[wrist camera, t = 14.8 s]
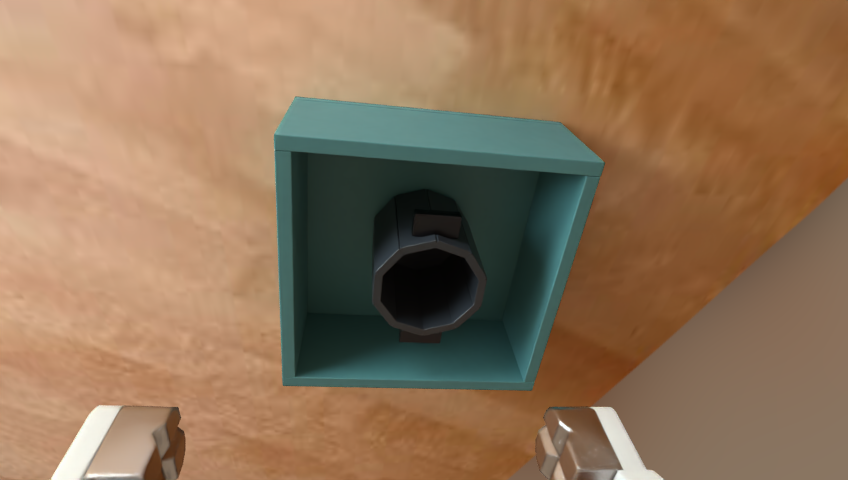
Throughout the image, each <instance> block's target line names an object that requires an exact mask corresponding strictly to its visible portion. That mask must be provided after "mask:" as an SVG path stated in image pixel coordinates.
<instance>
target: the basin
mask: <svg viewBox="0 0 848 480" xmlns="http://www.w3.org/2000/svg"><path fill="white" fill-rule="evenodd" d="M274 149H275V151H274V152H275V181H276V210H277V238H278V267H279V296H280V325H281V353H282V381H283V386H317V387H370V388H422V389H475V390H527V391H531V390H532V389H533V385H534V382H535V379H536V376H537V373H538V370H539V366H540V363H541V360H542V357H543V354H544V351H545V348H546V345H547V342H548V338H549V335H550V332H551V329H552V326H553V323H554V320H555V317H556V314H557V310H558V307H559V304H560V301H561V298H562V295H563V292H564V289H565V286H566V282H567V279H568V276H569V273H570V270H571V267H572V264H573V261H574V257H575V254H576V251H577V248H578V245H579V242H580V239H581V236H582V233H583V229H584V226H585V223H586V220H587V217H588V214H589V211H590V208H591V205H592V201H593V198H594V195H595V192H596V189H597V186H598V183H599V180H600V176H601V174H602V171H603V168H604V165H605V162H604V161H603V160H601V159H600V158H599V157H598V156H597V155H596V154H595V153H594V152H593V151H591V150H590V149H589V148H588V147H587V146H586V145H585V144H584V143H583V142H582V141H580V140H579V139H578V138H577V137H576V136H575V135H574V134H573V133H572V132H570V131H569V130H568V129H567V128H566V127H565V126H564V125H563V124H562V123H561V122H553V121H542V120H532V119H522V118H511V117H501V116H491V115H480V114H470V113H460V112H449V111H439V110H428V109H418V108H408V107H397V106H387V105H377V104H366V103H356V102H346V101H335V100H325V99H315V98H304V97H295V98H294V100H293V102H292V104H291V105H290V107H289V109H288V111H287V112H286V114H285V116H284V118H283V120H282V121H281V123H280V125H279V127H278V128H277V130H276V132H275V134H274ZM422 189H428V190H431V191H433V192H436V193H439V194H441V195H444V196H446V197H449V198H451V199H453V200H455V201H456V203H457V205H458V206H459V208H460V210H461V212H462V213H463V215H464V217H465V218H466V220H467V222H468V224H469V227H470V230H471V233H472V236H473V239H474V242H475V244H476V247H477V250H478V253H479V256H480V259H481V262H482V265H483V268H484V271H485V273H486V276H487V282H486V287H485V292H484V296H483V301H482V305H481V307H480V309H479V310H478V311H476V312H475V313H474V314H473V315H472V316H471V317H470V318H468V319H467V320H466V321H465V322H464V323H463V324H461V325H460V326H459V327H458V328H456V327H455V329H453V330H449V331H444V332H442V335H441V341H440V343H407V342H399V329H397V328H394V327H392V326H390V325H389V324H388V322H387V321H386V320H385V319H384V317H383V316H382V315H381V314H380V312H379V311H378V310H377V309H376V307H375V306H374V305H373V302H372V244H373V230H374V218H375V216H376V215H377V214H378V213H379V212H380V211H381V210H382V209H383V208H384V206H385V205H386V204H387V203H388V202H389V201H390V200H391V199H392V198H393V197H394V196H395V197H396V195H399V194H404V193H408V192H413V191H418V190H422Z"/></svg>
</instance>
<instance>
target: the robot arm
mask: <svg viewBox="0 0 848 480" xmlns="http://www.w3.org/2000/svg"><path fill="white" fill-rule="evenodd" d="M543 418H544V421H545V424H546V425H545V426H543V427H542V428H541V429H539V431H538V434H537V437H536V446H535V452H536V458H537V462H538V466H539V469H540V472H541V473H542V474H543V475H544V476H545V477H546V478H547V479H548V480H664V479H663V478H662V477H661V476H660V475H658V474H657V473H656V472H655V471H653V470H647V469H646V468H645V466H644V464H643V462H642V460H641V458H640V456H639V454H638V452H637V451H636V449H635V447H634V445H633V443H632V441H631V439H630V437H629V436H628V434H627V432H626V430H625V428H624V426H623V424H622V422H621V421H620V419H619V417H618V415H617V413H616V411H615V410H613V408H612V407H549V408H548V409H547V410H546V412H545V414H544V417H543ZM180 419H181V416H180V412H179V408H178V407H156V406H110V405H98V406H97V407H96V408H95V409H94V410H93V411H92V412H91V413H90V414H89V416H88V417H87V419H86V421H85V422H84V424H83V426H82V428H81V429H80V431H79V433H78V434H77V436H76V438H75V439H74V441H73V443H72V444H71V446H70V448H69V449H68V451H67V453H66V454H65V456H64V458H63V460H62V461H61V463H60V465H59V466H58V468H57V470H56V471H55V473H54V475H53V476H52V478H51V480H176V479H178V477H179V474H180V471H181V468H182V465H183V460H184V455H185V434H184V431H183V430H181V429H180V428H179V427H178V424H179V422H180Z"/></svg>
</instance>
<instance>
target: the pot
mask: <svg viewBox="0 0 848 480" xmlns="http://www.w3.org/2000/svg"><path fill="white" fill-rule="evenodd" d="M486 282H487V276H486V273H485V271H484V268H483V265H482V262H481V259H480V256H479V253H478V250H477V247H476V244H475V242H474V239H473V236H472V233H471V230H470V227H469V224H468V222H467V220H466V218H465V217H464V215H463V213H462V212H461V210H460V208H459V206H458V205H457V203H456V201H455V200H453V199H451V198H449V197H446V196H444V195H441V194H439V193H436V192H433V191H431V190H428V189H422V190H418V191H413V192H408V193H404V194H399V195H396V197H395V196H394V197H393V198H392V199H391V200H390V201H389V202H388V203H387V204H386V205H385V206H384V208H383V209H382V210H381V211H380V212H379V213H378V214H377V215H376V216H375V218H374V230H373V244H372V302H373V305H374V306H375V307H376V309H377V310H378V311H379V312H380V314H381V315H382V316H383V317H384V319H385V320H386V321H387V322H388V324H389V325H390V326H392V327H394V328H397V329H399V342H407V343H440V341H441V335H442V332H444V331H449V330H453V329H455V327H456V328H458V327H459V326H460V325H461V324H463V323H464V322H465V321H466V320H467V319H468V318H470V317H471V316H472V315H473V314H474V313H475V312H476V311H478V310H479V309H480V307H481V305H482V301H483V296H484V292H485V287H486Z"/></svg>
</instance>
